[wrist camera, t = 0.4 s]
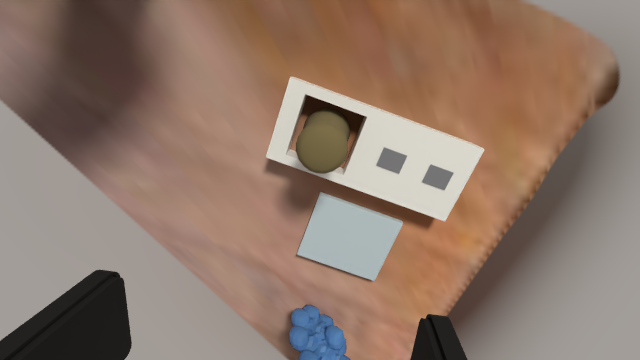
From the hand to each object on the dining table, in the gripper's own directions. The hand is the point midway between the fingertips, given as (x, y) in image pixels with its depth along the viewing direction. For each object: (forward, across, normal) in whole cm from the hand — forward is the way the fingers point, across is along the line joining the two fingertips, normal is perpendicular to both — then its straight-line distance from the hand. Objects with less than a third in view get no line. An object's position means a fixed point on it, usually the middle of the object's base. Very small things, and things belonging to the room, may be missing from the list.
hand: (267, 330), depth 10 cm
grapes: (+33, -3, +27) cm, 43 cm away
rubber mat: (+32, -4, +13) cm, 35 cm away
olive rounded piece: (+32, 0, -1) cm, 32 cm away
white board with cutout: (+32, -5, 0) cm, 32 cm away
